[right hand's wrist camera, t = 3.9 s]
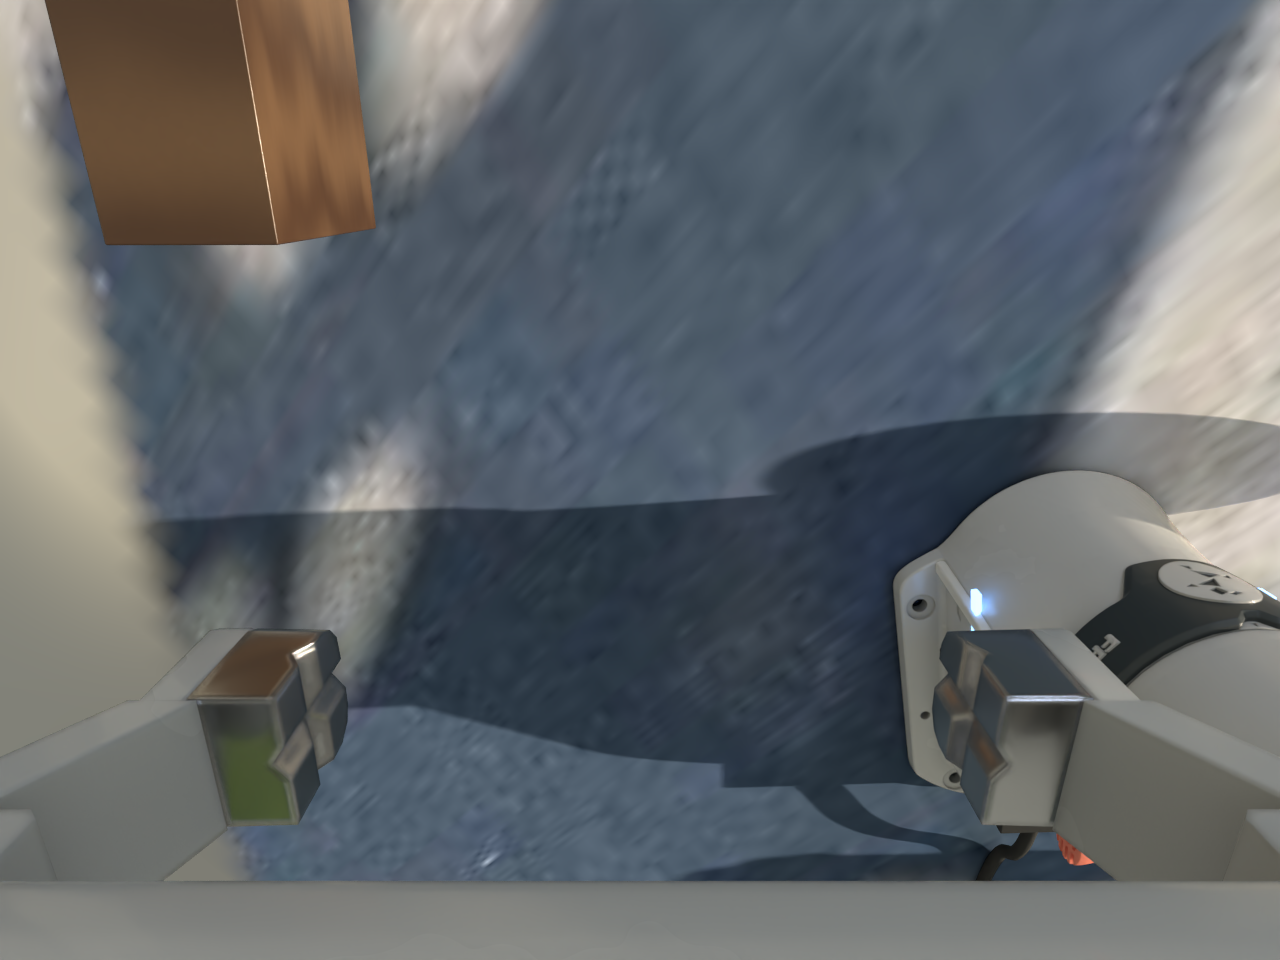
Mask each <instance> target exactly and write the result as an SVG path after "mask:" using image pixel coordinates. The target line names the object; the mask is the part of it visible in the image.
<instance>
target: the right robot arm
mask: <svg viewBox="0 0 1280 960" xmlns="http://www.w3.org/2000/svg"><path fill="white" fill-rule="evenodd" d="M893 593H894V604H895V616H896V627H897V638H898V650H899V661H900V673H901V684H902V695H903V707H904V718H905V730H906V741H907V751H908V759H909V763H910V765H911V767H912V768H913V770H914V771H915V773H916V774H917V775H918V776H920V777H921V778H923V779H925V780H927V781H928V782H930V783H932V784H935V785H937V786H940V787H943V788H945V789H949V790H953V791H956V792H961V793H965V795H966V797H967V799H968V800H969V802H970V804H971V806H972V808H973V809H974V811H975V813H976V815H977V817H978V818H979V820H980V822H981V824H982V825H996V826H997V828H998V829H999V831H1000V833H1020V834H1019V837H1018V838H1017V840H1016V842H1015V843H1014V844H1013V845H1012V846H1009V845H1004V844H1001V845H998V846H997V847H995V848H994V849H993V850H992V852H991V853H990V854H989V856H988V857H987V859H986V860H985V862H984V864H983V866H982V868H981V870H980V873H979V875H978V877H977V879H976V881H164V880H165V879H166V878H167V877H169V876H170V875H171V874H172V873H174V872H175V871H176V870H177V869H179V868H180V867H181V866H183V865H184V864H185V863H186V862H188V861H189V860H190V859H191V858H193V857H194V856H195V855H197V854H198V853H199V852H200V851H202V850H203V849H204V848H205V847H207V846H208V845H209V844H211V843H212V842H213V841H214V840H216V839H217V838H218V837H219V836H221V835H222V834H223V833H225V832H226V831H227V827H230V826H265V825H298V824H299V822H300V820H301V819H302V817H303V815H304V813H305V811H306V809H307V808H308V806H309V804H310V802H311V800H312V799H313V797H314V795H315V793H316V791H317V790H318V788H319V786H320V780H319V774H318V769H320V768H322V767H323V766H325V765H326V764H328V763H329V762H331V761H332V760H334V758H335V756H336V754H337V753H338V751H339V749H340V747H341V745H342V743H343V738H344V734H345V730H346V726H347V721H348V701H347V694H346V687H345V686H344V685H343V684H342V683H341V682H340V681H339V680H338V679H337V678H336V677H335V676H334V675H333V674H332V672H333V670H334V669H335V667H336V666H337V664H338V662H339V661H340V659H341V657H340V652H339V647H338V642H337V637H336V636H335V635H334V634H333V633H332V632H331V631H330V630H301V629H253V628H227V629H216V630H211V631H209V632H208V633H207V634H206V635H205V636H204V637H203V638H202V639H201V640H200V641H199V642H198V643H197V644H196V645H195V646H194V647H193V648H192V649H191V650H190V651H189V652H188V653H187V654H186V655H185V656H184V657H183V658H182V659H181V660H180V661H179V662H178V663H177V664H176V665H175V666H174V667H173V668H172V669H171V670H170V671H169V672H168V673H167V674H166V675H165V676H164V677H163V678H162V679H161V680H160V681H159V682H158V683H157V684H156V685H155V686H154V687H153V688H152V689H151V690H150V691H149V692H148V693H147V694H146V695H145V696H144V697H143V698H142V699H141V700H127V701H125V702H122V703H120V704H118V705H116V706H113V707H111V708H109V709H107V710H104V711H102V712H100V713H98V714H96V715H93V716H91V717H89V718H86V719H84V720H82V721H80V722H78V723H75V724H73V725H71V726H69V727H66V728H64V729H62V730H60V731H57V732H55V733H53V734H51V735H48V736H46V737H44V738H42V739H39V740H37V741H35V742H33V743H30V744H28V745H26V746H24V747H21V748H19V749H17V750H15V751H13V752H10V753H8V754H6V755H4V756H1V757H0V960H1280V602H1279V601H1278V600H1276V597H1274V596H1273V595H1271V594H1270V593H1268V592H1267V591H1265V590H1263V589H1262V588H1256V587H1255V586H1253V585H1251V584H1249V583H1248V582H1246V581H1244V580H1242V579H1240V578H1238V577H1237V576H1235V575H1233V574H1231V573H1229V572H1227V571H1225V570H1223V569H1221V568H1219V567H1217V566H1214V565H1213V564H1212V563H1211V562H1210V561H1209V560H1208V559H1206V558H1205V557H1204V556H1203V555H1202V554H1201V553H1200V552H1199V551H1198V550H1197V549H1196V548H1195V547H1194V546H1193V545H1192V544H1191V543H1190V542H1189V541H1188V540H1187V539H1186V538H1185V537H1184V536H1183V535H1182V534H1181V532H1180V531H1179V530H1178V529H1177V528H1176V527H1175V525H1174V524H1173V523H1172V522H1171V520H1170V519H1169V518H1168V516H1167V515H1166V513H1165V512H1164V511H1163V509H1162V508H1161V507H1160V505H1159V504H1158V503H1157V502H1156V501H1155V500H1154V499H1153V498H1152V497H1151V496H1150V495H1149V494H1148V493H1147V492H1145V491H1144V490H1143V489H1141V488H1140V487H1138V486H1137V485H1135V484H1133V483H1131V482H1129V481H1127V480H1125V479H1122V478H1120V477H1117V476H1114V475H1110V474H1106V473H1101V472H1095V471H1083V470H1073V471H1060V472H1054V473H1048V474H1044V475H1040V476H1036V477H1033V478H1030V479H1027V480H1024V481H1022V482H1019V483H1017V484H1015V485H1012V486H1010V487H1008V488H1006V489H1004V490H1003V491H1001V492H999V493H997V494H996V495H994V496H993V497H991V498H990V499H988V500H987V501H985V502H984V503H983V504H981V505H980V506H979V507H978V508H976V509H975V510H974V511H973V512H972V513H971V514H970V515H969V516H968V517H967V518H966V519H965V520H964V521H963V522H962V523H961V524H960V525H959V526H958V527H957V529H956V530H955V531H954V532H953V533H952V534H951V535H950V536H949V537H948V538H947V539H946V540H945V541H944V542H943V543H942V544H941V545H940V546H939V547H938V548H936V549H934V550H932V551H930V552H928V553H926V554H924V555H923V556H921V557H919V558H917V559H915V560H914V561H912V562H910V563H909V564H907V565H906V566H905V567H903V568H902V569H901V570H900V571H899V572H898V573H897V575H896V576H895V578H894V582H893ZM918 599H923V601H922V602H921V603H920V604H919V605H917V606H912V605H913V603H914V602H915V601H916V600H918ZM956 772H957V773H956ZM953 773H955V774H953ZM951 774H953V775H951ZM1038 832H1056V833H1057V840H1058V841H1059V848H1060V850H1061V851H1062V854H1063V856H1064V858H1065V859H1067V861H1068V862H1069V863H1070V864H1073V865H1085V864H1090V863H1095V864H1096V865H1098V866H1099V867H1100V868H1101V869H1103V870H1104V871H1105V872H1107V873H1108V874H1109V875H1110V876H1112V877H1113V878H1114V879H1115V880H1117V881H991V880H992V878H993V876H994V874H995V872H996V870H997V869H998V867H999V866H1000V864H1001V863H1002V862H1003V861H1004V859H1005V858H1007V859H1010V860H1018V859H1020V858H1022V857H1023V856H1024V855H1026V853H1027V852H1028V851H1029V850H1030V848H1031V846H1032V844H1033V842H1034V840H1035V838H1036V836H1037V834H1038Z"/></svg>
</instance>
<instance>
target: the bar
mask: <svg viewBox="0 0 1280 960" xmlns="http://www.w3.org/2000/svg"><path fill="white" fill-rule="evenodd" d="M45 3H46V7H47V11H48V15H49V19H50V23H51V27H52V31H53V35H54V39H55V43H56V47H57V51H58V56H59V60H60V64H61V68H62V72H63V76H64V80H65V84H66V88H67V92H68V96H69V100H70V104H71V108H72V112H73V116H74V120H75V124H76V128H77V132H78V136H79V140H80V144H81V148H82V152H83V156H84V160H85V164H86V168H87V172H88V176H89V180H90V184H91V188H92V192H93V196H94V200H95V204H96V208H97V212H98V216H99V220H100V224H101V229H102V233H103V237H104V241H105V244H106V245H279V244H285V243H291V242H297V241H303V240H309V239H315V238H321V237H327V236H333V235H339V234H345V233H351V232H357V231H363V230H369V229H375V228H376V225H375V217H374V209H373V201H372V192H371V184H370V176H369V168H368V160H367V152H366V144H365V135H364V127H363V119H362V111H361V103H360V95H359V87H358V78H357V70H356V62H355V54H354V46H353V38H352V30H351V21H350V13H349V5H348V0H45Z"/></svg>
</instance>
